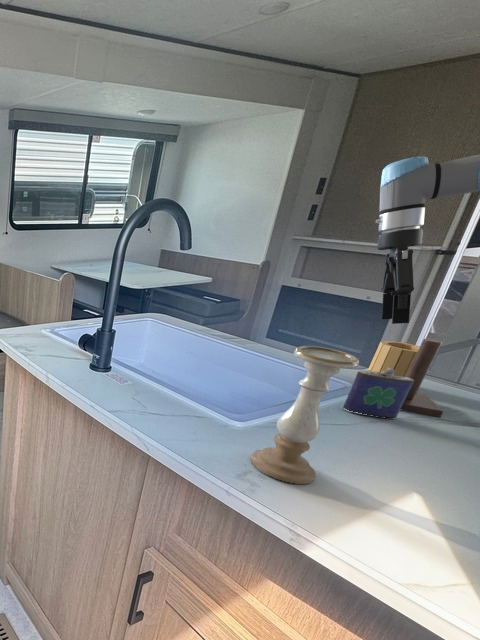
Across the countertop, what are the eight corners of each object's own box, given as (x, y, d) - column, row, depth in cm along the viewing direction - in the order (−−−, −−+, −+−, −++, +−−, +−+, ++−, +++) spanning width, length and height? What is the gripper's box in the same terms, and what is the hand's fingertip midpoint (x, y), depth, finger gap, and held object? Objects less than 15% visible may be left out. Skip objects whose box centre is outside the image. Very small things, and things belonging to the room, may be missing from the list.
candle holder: (318, 470, 71) (369, 355, 62) (307, 492, 65) (362, 369, 57) (258, 448, 76) (297, 340, 68) (243, 467, 71) (284, 351, 62)
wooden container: (402, 381, 110) (420, 344, 106) (413, 393, 103) (433, 354, 99) (360, 374, 114) (376, 338, 110) (369, 385, 107) (386, 347, 103)
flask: (392, 415, 91) (415, 369, 87) (399, 421, 89) (423, 374, 84) (340, 407, 94) (359, 361, 90) (345, 412, 92) (365, 366, 87)
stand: (422, 400, 99) (454, 339, 93) (440, 417, 91) (476, 351, 85) (368, 390, 104) (395, 331, 98) (380, 405, 96) (410, 342, 90)
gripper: (370, 237, 113) (365, 318, 116) (388, 228, 93) (382, 326, 96) (410, 232, 108) (404, 316, 112) (438, 221, 88) (430, 324, 92)
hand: (394, 321), depth 104 cm, fingers open, 13 cm apart
